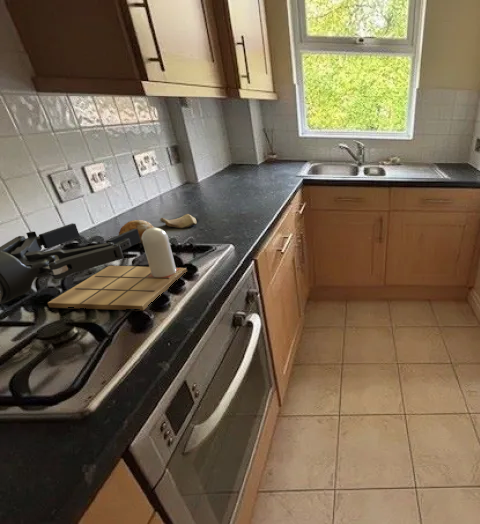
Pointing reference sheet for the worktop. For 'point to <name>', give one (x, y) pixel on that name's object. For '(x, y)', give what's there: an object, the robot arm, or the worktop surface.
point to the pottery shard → (180, 221)
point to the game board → (117, 289)
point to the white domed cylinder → (158, 252)
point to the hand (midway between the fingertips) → (106, 232)
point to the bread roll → (136, 227)
